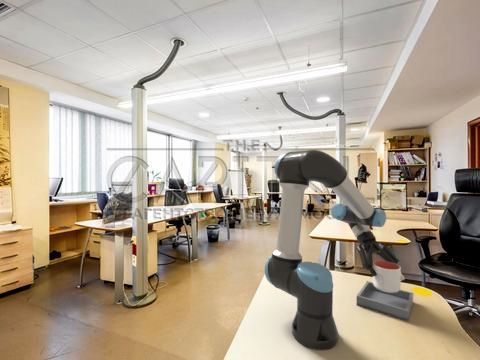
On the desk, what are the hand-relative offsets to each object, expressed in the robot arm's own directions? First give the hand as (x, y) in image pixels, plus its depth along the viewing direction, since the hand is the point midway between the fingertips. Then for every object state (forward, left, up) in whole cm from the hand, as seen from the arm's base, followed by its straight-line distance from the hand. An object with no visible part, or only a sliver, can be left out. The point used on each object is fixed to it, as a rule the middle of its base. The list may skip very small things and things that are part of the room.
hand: (392, 281), depth 101 cm
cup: (-2, +2, -4) cm, 5 cm away
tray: (-3, +1, -11) cm, 11 cm away
